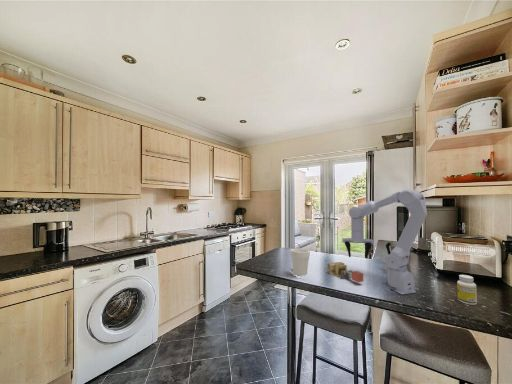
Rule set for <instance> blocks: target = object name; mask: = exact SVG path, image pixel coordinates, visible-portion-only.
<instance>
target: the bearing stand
mask: <svg viewBox="0 0 512 384" xmlns="http://www.w3.org/2000/svg"><path fill="white" fill-rule="evenodd" d="M336 264H344V265H345V263H344V262H342V261H337V262H327V274H329V275H333V276H335V277H336V278H340V279H341V280H348V279H351V280H352V278H350V277H348V276H346V275H344V272H343V271H341V268H340V272H341V275H337V274H335V273H334V265H336ZM348 271H349V272H351V273H352V272H353V270H348Z"/></svg>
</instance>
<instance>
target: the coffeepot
mask: <svg viewBox="0 0 512 384" xmlns="http://www.w3.org/2000/svg"><path fill="white" fill-rule="evenodd" d="M396 245H397V243H393V242H387V243H386V244H385V247H386V252H387V255H389V254H390V253H391V251H392V250H393V249H394V248H395V247H396ZM412 251H414V248H412V247H411V249H410V255H409V260H410V259H411V253H412ZM406 267H407V271H408V272H410V273H412V270H411V265H410V263H408V264H407V265H406Z"/></svg>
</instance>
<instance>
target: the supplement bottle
mask: <svg viewBox="0 0 512 384" xmlns="http://www.w3.org/2000/svg"><path fill="white" fill-rule="evenodd" d="M458 278H459V279H458V280H457V282H456V287H457V288H456V289H457V300H458V301H459V302H461V303H463V304H466V305H471V306H475V305H477V304H478V295H477V284H476V283H475V282H474V277H473V276H471V275H467V274H459V275H458Z"/></svg>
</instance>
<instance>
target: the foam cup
mask: <svg viewBox="0 0 512 384" xmlns="http://www.w3.org/2000/svg"><path fill="white" fill-rule="evenodd" d="M290 255H291V264H292V272H293V275H294V274H295V275H297V276H307V274H308V267H309V259H310V249H306V248H300V247H299V248H292V249H290Z"/></svg>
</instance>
